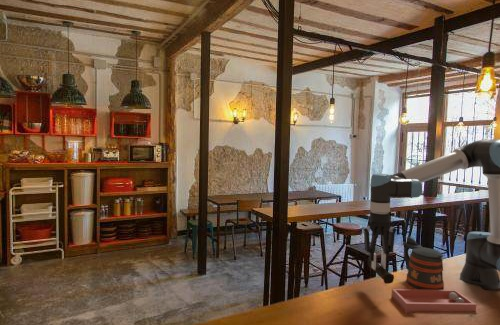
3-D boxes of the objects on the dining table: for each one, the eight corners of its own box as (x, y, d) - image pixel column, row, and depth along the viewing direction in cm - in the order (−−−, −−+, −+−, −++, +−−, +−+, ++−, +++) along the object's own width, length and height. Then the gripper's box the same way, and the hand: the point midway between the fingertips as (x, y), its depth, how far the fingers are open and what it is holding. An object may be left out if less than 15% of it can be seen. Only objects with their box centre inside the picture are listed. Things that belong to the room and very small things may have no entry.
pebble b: (460, 303, 129) (461, 296, 129) (466, 307, 126) (466, 299, 126) (453, 303, 129) (453, 296, 129) (458, 307, 126) (458, 299, 126)
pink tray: (455, 298, 136) (455, 289, 135) (475, 313, 124) (476, 304, 123) (391, 297, 135) (391, 289, 135) (405, 312, 123) (406, 303, 123)
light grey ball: (454, 298, 133) (455, 290, 133) (459, 302, 130) (460, 294, 130) (446, 298, 133) (447, 290, 133) (451, 302, 130) (452, 294, 130)
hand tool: (394, 284, 128) (394, 272, 128) (383, 284, 128) (384, 272, 128) (374, 265, 147) (374, 254, 147) (365, 265, 147) (365, 255, 147)
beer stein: (389, 280, 151) (392, 237, 150) (412, 275, 157) (415, 234, 156) (427, 299, 134) (430, 250, 133) (451, 293, 140) (454, 246, 139)
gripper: (395, 210, 140) (394, 264, 142) (356, 210, 140) (355, 265, 141) (404, 214, 132) (402, 271, 134) (363, 214, 132) (361, 272, 134)
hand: (378, 268), depth 138 cm, fingers closed on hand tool, 3 cm apart
